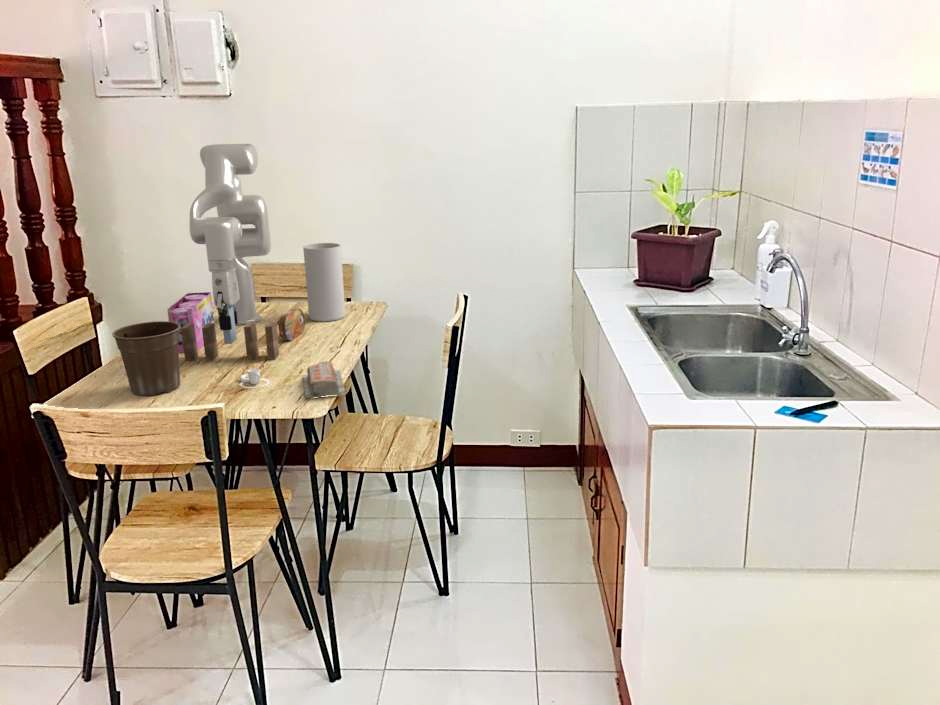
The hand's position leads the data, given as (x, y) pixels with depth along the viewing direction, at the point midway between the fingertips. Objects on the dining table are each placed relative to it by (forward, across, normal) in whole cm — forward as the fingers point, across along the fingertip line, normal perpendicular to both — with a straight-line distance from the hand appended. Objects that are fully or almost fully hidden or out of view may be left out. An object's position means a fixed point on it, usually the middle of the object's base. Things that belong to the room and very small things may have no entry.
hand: (229, 326), depth 229 cm
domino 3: (+4, 0, 0) cm, 4 cm away
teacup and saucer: (+10, -20, -13) cm, 26 cm away
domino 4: (+10, 0, -6) cm, 11 cm away
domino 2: (+10, 0, +6) cm, 11 cm away
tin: (+10, +22, -13) cm, 27 cm away
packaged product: (+10, -26, -31) cm, 42 cm away
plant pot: (+10, -26, +13) cm, 30 cm away
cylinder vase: (+9, +46, -20) cm, 51 cm away
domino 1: (+10, 0, +12) cm, 15 cm away
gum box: (+10, +18, +17) cm, 27 cm away
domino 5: (+10, 0, -12) cm, 15 cm away
